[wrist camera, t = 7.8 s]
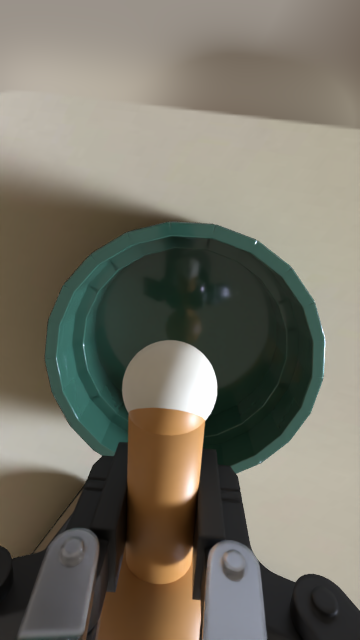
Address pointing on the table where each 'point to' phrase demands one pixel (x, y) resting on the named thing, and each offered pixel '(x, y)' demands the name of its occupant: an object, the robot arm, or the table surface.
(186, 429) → the drumstick
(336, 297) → the table surface
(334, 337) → the table surface
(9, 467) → the table surface
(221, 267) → the shallow green bowl
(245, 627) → the robot arm
